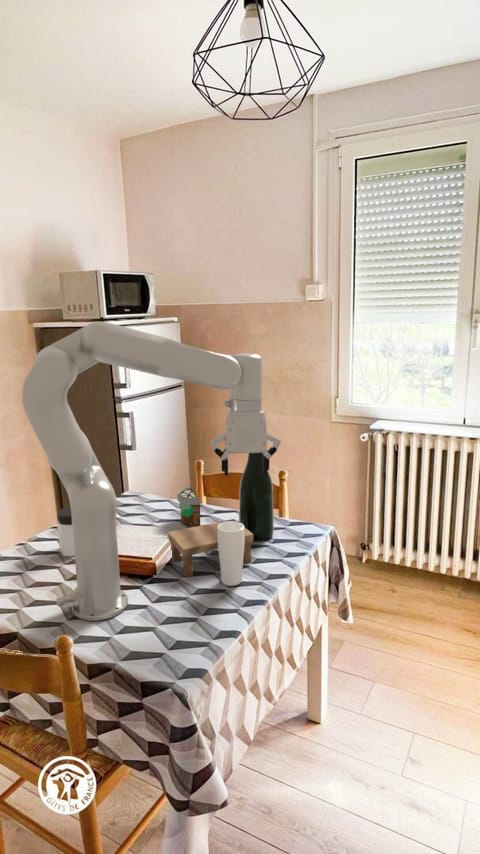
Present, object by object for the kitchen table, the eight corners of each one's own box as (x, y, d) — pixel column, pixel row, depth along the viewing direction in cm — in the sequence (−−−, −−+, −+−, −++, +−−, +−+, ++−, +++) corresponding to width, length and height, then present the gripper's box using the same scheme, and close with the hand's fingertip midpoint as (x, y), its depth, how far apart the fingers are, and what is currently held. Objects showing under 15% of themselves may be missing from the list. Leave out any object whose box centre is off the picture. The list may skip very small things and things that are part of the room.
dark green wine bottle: (232, 534, 161) (230, 429, 154) (257, 525, 168) (256, 424, 160) (255, 545, 153) (254, 435, 146) (280, 535, 160) (281, 429, 153)
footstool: (184, 578, 135) (183, 549, 133) (169, 559, 145) (167, 532, 143) (253, 561, 143) (253, 534, 142) (234, 544, 154) (233, 518, 152)
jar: (57, 547, 153) (53, 508, 150) (85, 541, 157) (82, 503, 154) (64, 559, 145) (61, 519, 143) (93, 552, 149) (90, 513, 147)
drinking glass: (242, 589, 129) (241, 532, 126) (215, 587, 130) (214, 530, 127) (247, 576, 135) (246, 521, 132) (221, 574, 137) (220, 519, 133)
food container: (174, 516, 175) (173, 487, 173) (192, 514, 177) (192, 486, 175) (182, 530, 164) (181, 500, 162) (201, 528, 165) (200, 498, 163)
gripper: (211, 408, 122) (211, 479, 126) (284, 407, 124) (282, 477, 128) (209, 403, 129) (209, 470, 133) (278, 402, 131) (277, 468, 135)
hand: (245, 473), depth 130 cm, fingers open, 9 cm apart
